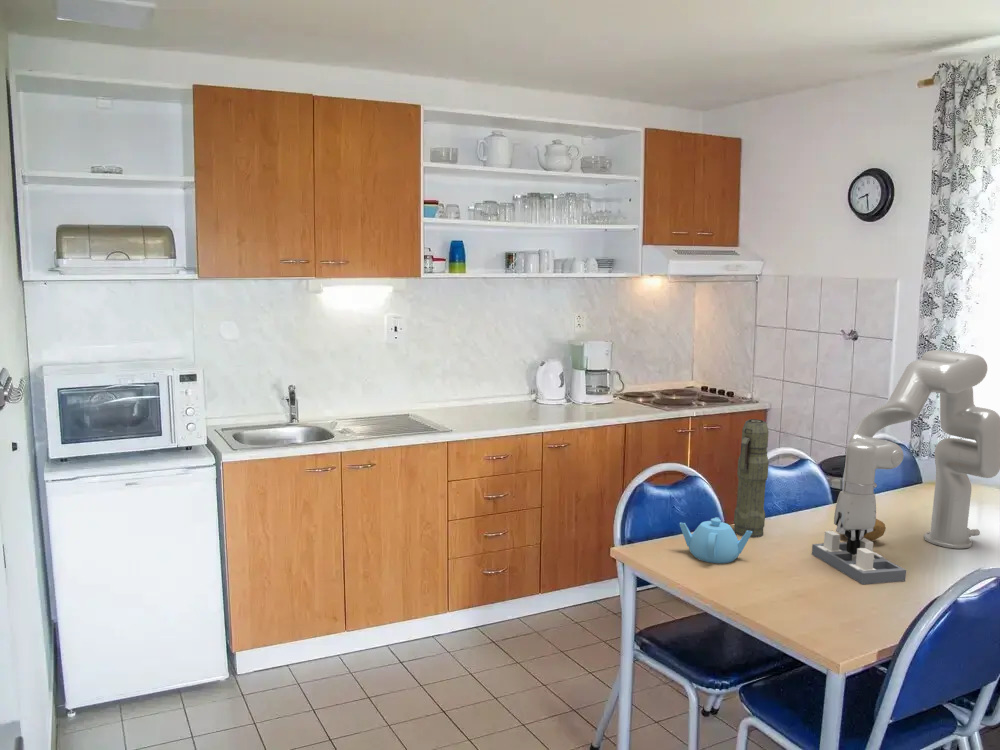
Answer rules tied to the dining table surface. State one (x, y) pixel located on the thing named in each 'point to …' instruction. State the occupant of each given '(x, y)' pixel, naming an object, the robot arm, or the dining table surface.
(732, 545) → the teapot
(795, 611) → the dining table surface
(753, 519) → the thermos
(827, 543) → the tab
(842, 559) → the switch bank
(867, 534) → the potato
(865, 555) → the tab
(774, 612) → the dining table surface
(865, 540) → the tab
